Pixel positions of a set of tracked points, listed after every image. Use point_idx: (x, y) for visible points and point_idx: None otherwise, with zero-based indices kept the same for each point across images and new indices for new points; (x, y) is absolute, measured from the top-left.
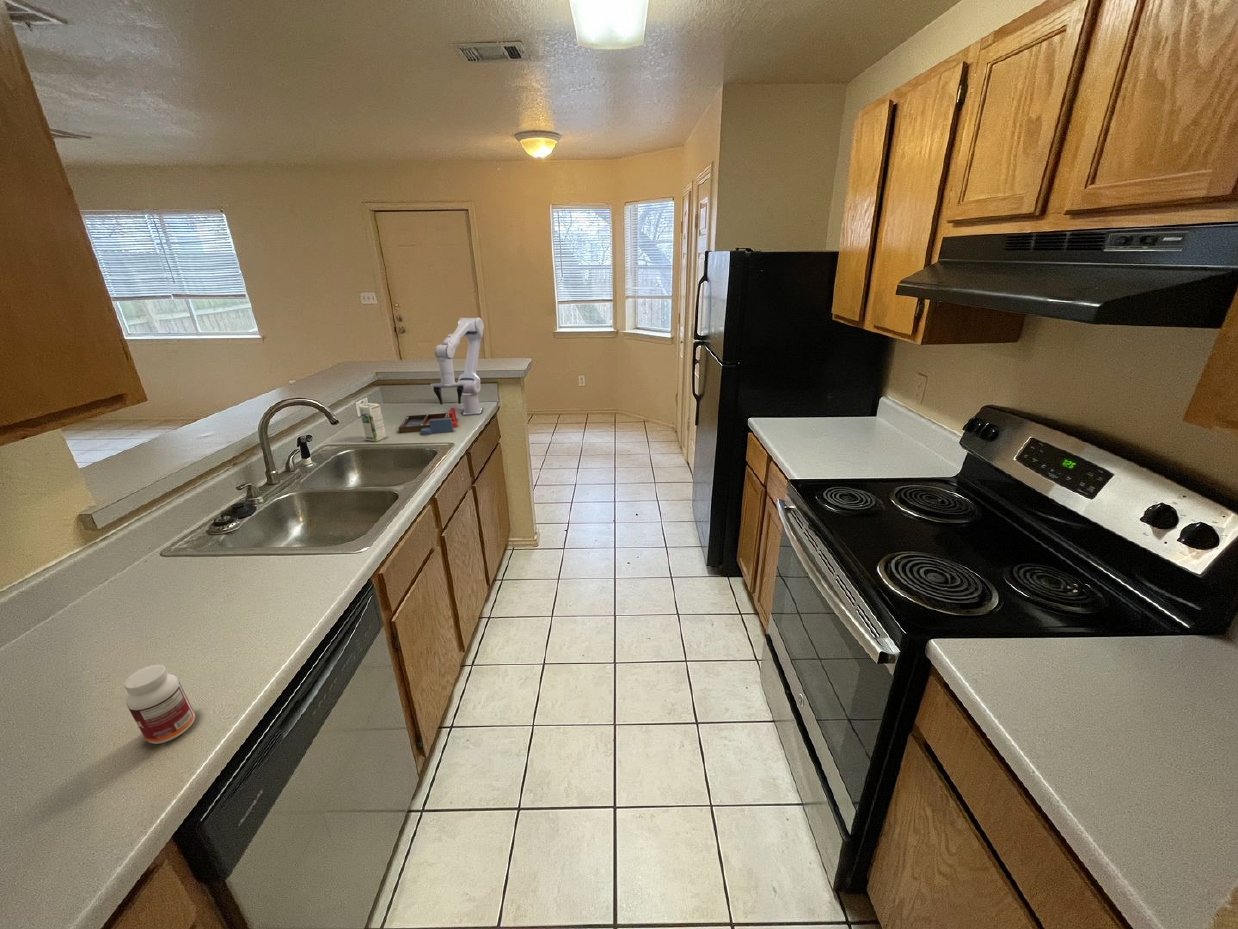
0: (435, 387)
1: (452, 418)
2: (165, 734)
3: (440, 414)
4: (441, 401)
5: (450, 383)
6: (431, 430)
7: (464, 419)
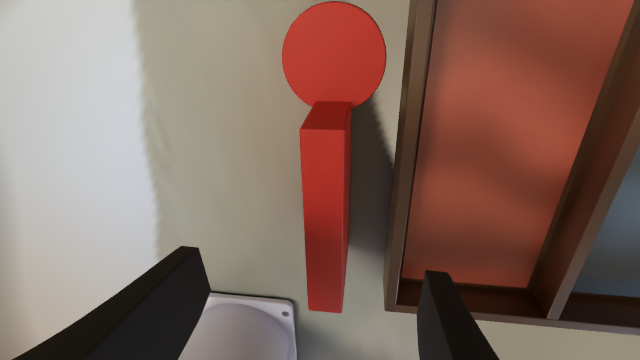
0: None
1: (315, 108)
2: None
3: None
4: (434, 311)
5: None
6: None
7: (264, 217)
